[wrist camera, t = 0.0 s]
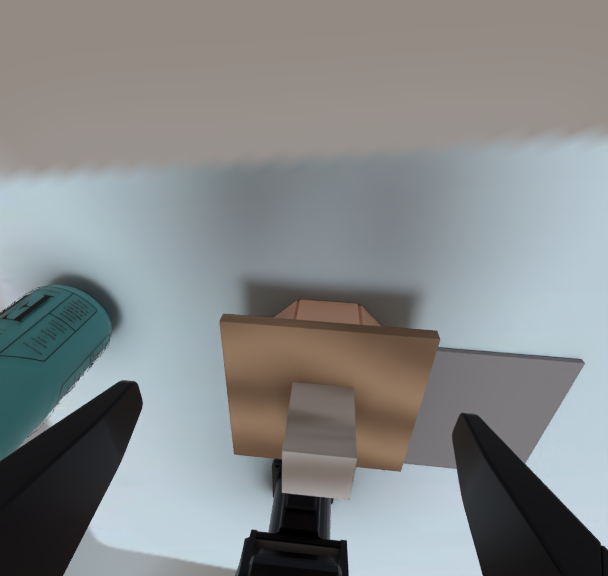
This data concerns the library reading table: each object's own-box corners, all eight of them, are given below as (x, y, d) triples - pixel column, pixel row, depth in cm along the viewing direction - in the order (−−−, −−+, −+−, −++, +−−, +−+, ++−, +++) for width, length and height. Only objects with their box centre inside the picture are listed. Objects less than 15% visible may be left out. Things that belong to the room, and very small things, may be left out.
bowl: (381, 410, 31) (387, 451, 27) (259, 398, 31) (249, 437, 28) (404, 307, 25) (414, 343, 22) (254, 295, 26) (241, 329, 22)
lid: (399, 461, 28) (412, 545, 23) (236, 445, 28) (214, 522, 23) (437, 330, 21) (467, 408, 16) (223, 313, 22) (188, 383, 17)
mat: (516, 470, 33) (518, 474, 33) (388, 457, 34) (388, 461, 34) (581, 359, 26) (585, 363, 26) (417, 345, 27) (418, 349, 26)
